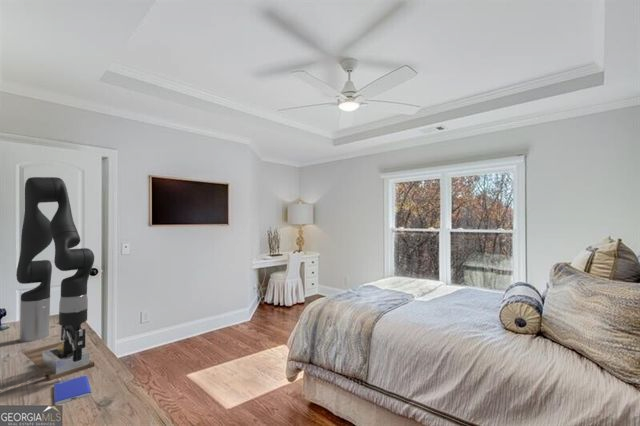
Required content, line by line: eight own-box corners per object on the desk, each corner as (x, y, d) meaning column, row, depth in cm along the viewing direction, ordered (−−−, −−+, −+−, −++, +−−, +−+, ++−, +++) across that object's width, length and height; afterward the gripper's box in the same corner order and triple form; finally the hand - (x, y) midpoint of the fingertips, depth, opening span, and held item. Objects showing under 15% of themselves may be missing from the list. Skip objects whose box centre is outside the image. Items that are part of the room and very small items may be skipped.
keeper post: (55, 361, 110) (55, 343, 110) (66, 358, 113) (67, 340, 113) (58, 364, 108) (59, 345, 108) (70, 360, 111) (70, 342, 111)
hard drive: (54, 383, 96) (54, 401, 87) (87, 374, 101) (91, 391, 92) (53, 388, 96) (54, 407, 87) (87, 379, 101) (91, 396, 92)
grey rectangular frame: (42, 362, 109) (42, 351, 109) (73, 354, 117) (74, 343, 117) (56, 374, 101) (56, 361, 101) (88, 364, 109) (89, 352, 109)
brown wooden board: (21, 355, 118) (22, 351, 118) (61, 344, 128) (61, 341, 128) (50, 380, 100) (50, 376, 100) (94, 366, 110) (94, 362, 110)
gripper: (52, 307, 107) (51, 356, 106) (67, 315, 99) (66, 367, 98) (78, 302, 113) (77, 348, 113) (95, 309, 105) (94, 359, 104)
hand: (72, 357), depth 105 cm, fingers open, 8 cm apart
